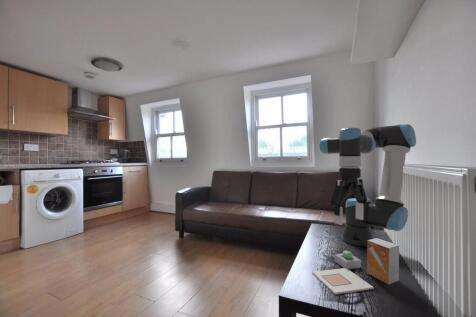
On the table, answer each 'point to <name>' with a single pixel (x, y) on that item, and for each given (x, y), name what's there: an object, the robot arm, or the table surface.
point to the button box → (347, 261)
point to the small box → (383, 260)
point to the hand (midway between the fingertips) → (349, 221)
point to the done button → (347, 255)
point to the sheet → (342, 281)
